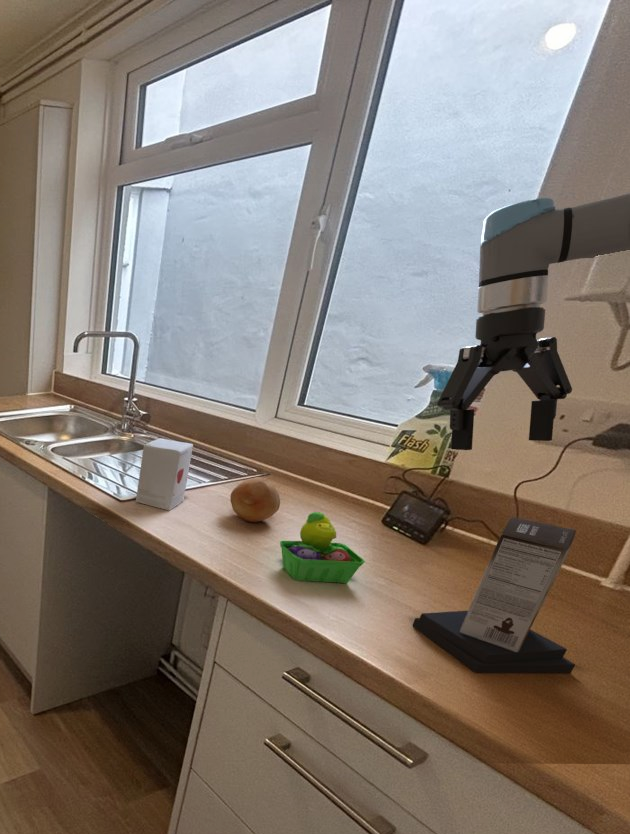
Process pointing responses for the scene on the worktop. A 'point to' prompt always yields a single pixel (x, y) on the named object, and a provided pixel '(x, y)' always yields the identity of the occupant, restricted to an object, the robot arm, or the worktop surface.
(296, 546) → the fruit basket
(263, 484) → the onion
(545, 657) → the black game console
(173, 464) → the rectangular carton
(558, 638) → the worktop surface
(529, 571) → the coffee box
